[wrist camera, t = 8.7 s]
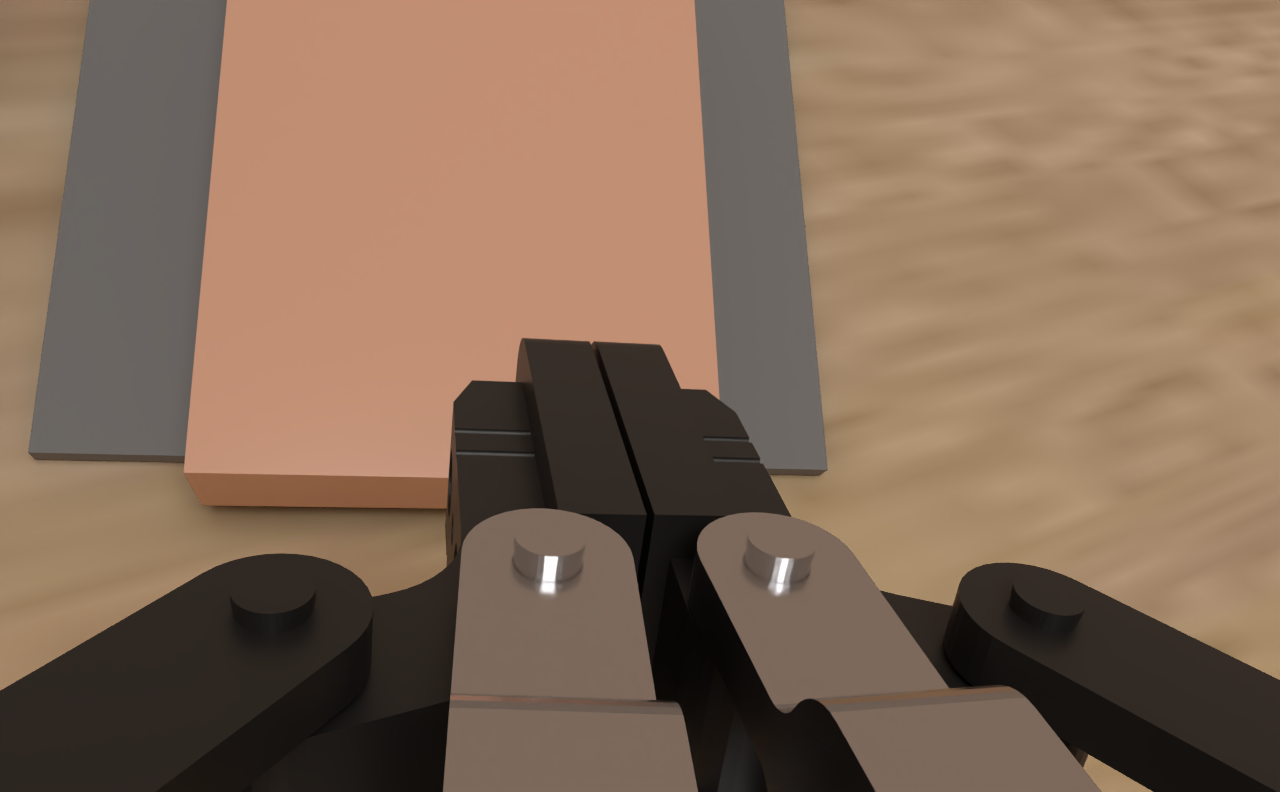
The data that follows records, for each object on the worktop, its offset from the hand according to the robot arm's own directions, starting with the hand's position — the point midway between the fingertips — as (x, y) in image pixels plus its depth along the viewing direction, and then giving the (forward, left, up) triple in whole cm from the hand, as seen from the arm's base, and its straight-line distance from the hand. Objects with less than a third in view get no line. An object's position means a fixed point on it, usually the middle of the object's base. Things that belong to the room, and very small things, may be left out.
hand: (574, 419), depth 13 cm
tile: (0, -3, -15) cm, 15 cm away
